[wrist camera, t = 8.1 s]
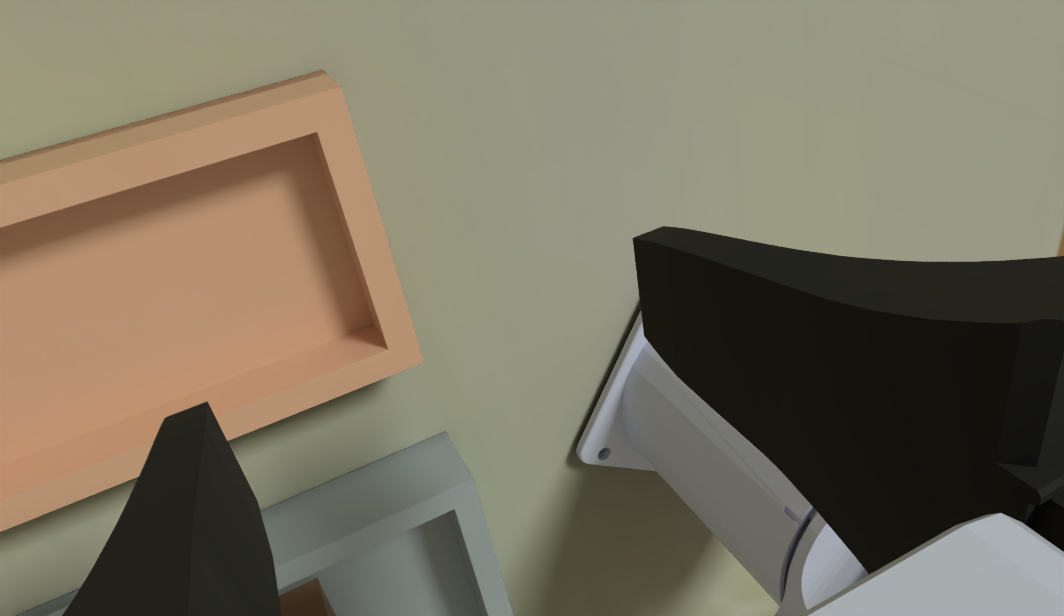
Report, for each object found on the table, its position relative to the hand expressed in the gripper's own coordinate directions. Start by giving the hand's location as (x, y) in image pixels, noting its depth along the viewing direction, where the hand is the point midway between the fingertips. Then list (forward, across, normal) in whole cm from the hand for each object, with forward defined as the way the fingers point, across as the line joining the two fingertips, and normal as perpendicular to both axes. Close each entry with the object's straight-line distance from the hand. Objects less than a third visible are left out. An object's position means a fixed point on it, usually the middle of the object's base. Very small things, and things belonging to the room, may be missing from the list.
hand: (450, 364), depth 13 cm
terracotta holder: (+9, +6, +1) cm, 11 cm away
